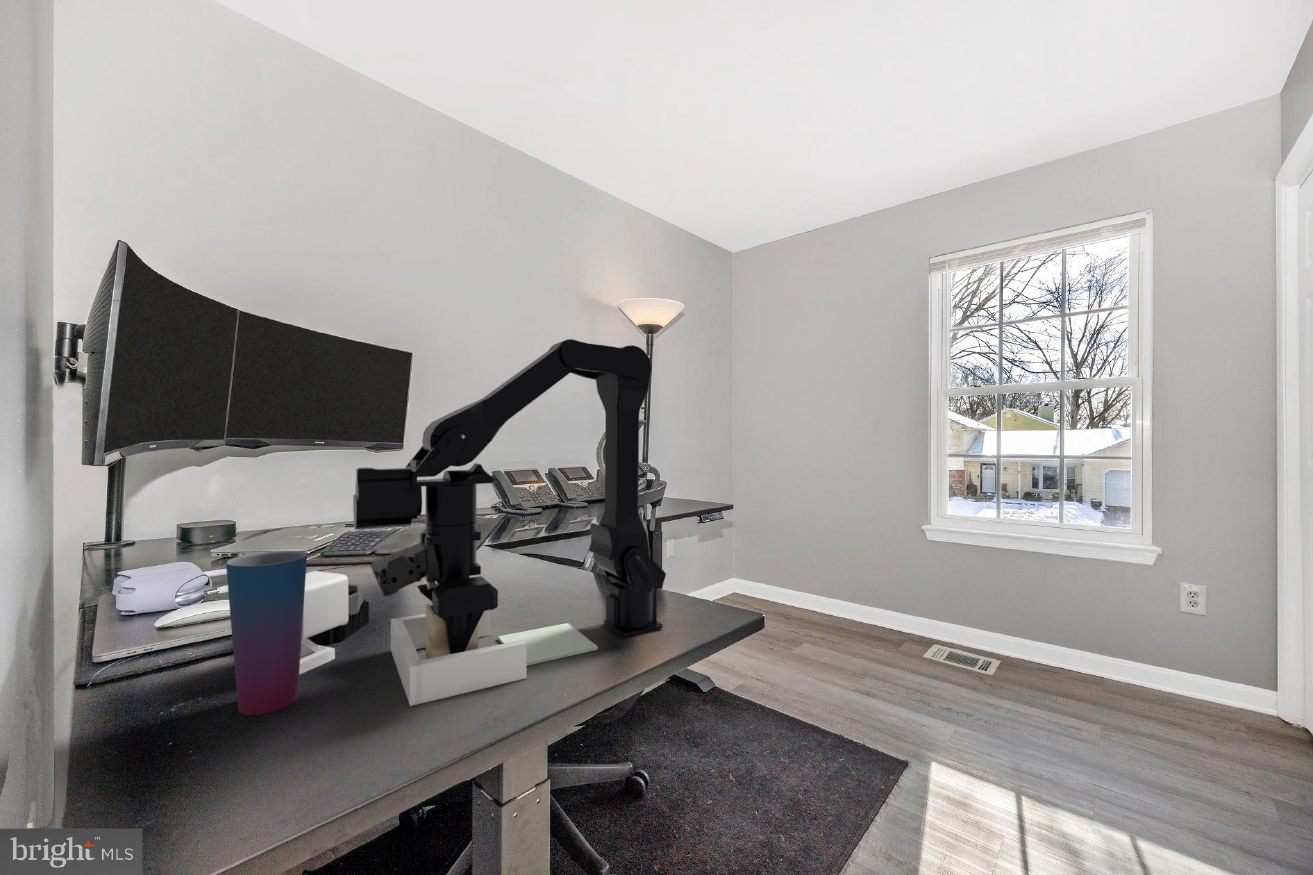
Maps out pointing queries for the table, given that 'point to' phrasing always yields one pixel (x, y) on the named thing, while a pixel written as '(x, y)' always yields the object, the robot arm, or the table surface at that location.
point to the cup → (266, 627)
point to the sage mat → (551, 643)
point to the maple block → (441, 635)
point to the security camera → (322, 615)
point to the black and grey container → (356, 618)
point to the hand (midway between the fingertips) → (451, 651)
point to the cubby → (452, 663)
